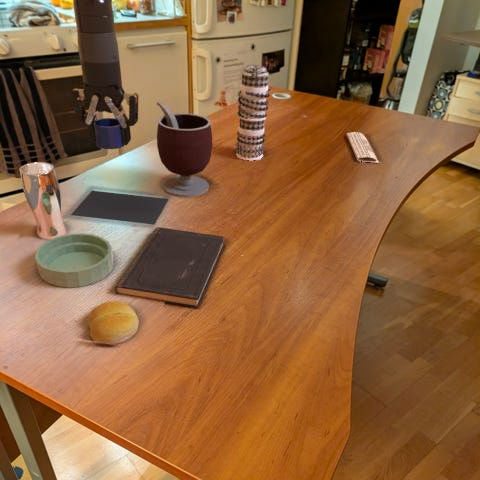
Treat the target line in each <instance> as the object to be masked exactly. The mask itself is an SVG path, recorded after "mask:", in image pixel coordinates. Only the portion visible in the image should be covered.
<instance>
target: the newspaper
mask: <svg viewBox="0 0 480 480" xmlns="http://www.w3.org/2000/svg"><path fill="white" fill-rule="evenodd" d="M346 137H347V140H348V142H349V144H350V147H351V149H352V152H353V154H354V156H355V158H356V161H357V162H360V163H365V162H371V163H378V164H380V161H379V159H378V158H377V155H376V153H375V152H374V150H373V148H372V147H371V144H370V142H369V140H368V139H367V137H365V134H363V133H362V132H357V131H351V132H346ZM361 161H362V162H361ZM371 163H370V164H371Z"/></svg>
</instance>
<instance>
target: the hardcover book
mask: <svg viewBox="0 0 480 480" xmlns="http://www.w3.org/2000/svg"><path fill="white" fill-rule="evenodd" d="M225 239H226V236H222V235H215V234H209V233H202V232H195V231H190V230H189V231H188V230H182V229H175V228H174V229H173V228H168V227H167V228H166V227H161V226H157V227H155V228H154V230H153V231H152V232H151V234H150V236H149V237H148V239H147V240H146V241H145V243H144V244H143V246H142V248H141V249H140V250H139V252H138V253H137V254H136V256H135V257H134V259H133V261H132V262H131V263H130V265H129V266H128V268H127V269H126V271H125V272H124V274H123V275H122V276H121V278H120V280H119V281H118V282H117V284H116V285H115V287H114V291H115V294H116V295H117V294H124V295H129V296H134V297H141V298H147V299H154V300H158V301H159V300H160V301H164V304H168V305H174V306H181V307H186V308H192V309H199V307H200V306H201V304H202V301H203V298H204V296H205V294H206V291H207V289H208V286H209V284H210V282H211V279H212V277H213V275H214V272H215V270H216V267H217V265H218V263H219V262H220V261H219V260H220V258H221V256H222V253H223V251H224V249H225V246H226V244H225V243H224V242H225Z"/></svg>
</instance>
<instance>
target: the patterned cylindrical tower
mask: <svg viewBox="0 0 480 480" xmlns="http://www.w3.org/2000/svg"><path fill="white" fill-rule="evenodd" d="M240 73H241V83H240V86H239V87H240V90H239V91H238V94H237V96H238V98H237V102H238V106H237V117H238V118H239V121H238V123H239V125H238V129H237V130H238V131H237V132H236V135H237V137H236V141H237V142H236V144H235V146H236V148H235V151H236V153H235V156H236V155H237V156H236V158H238V159H240V160H242V159H243V161H247V160H249V161H248V162H254V161H253V160H256V161H260V160H262V159H263V158H262V157H264V151H265V150H264V149H265V145H264V143H265V140H266V139H265V136H266V133H265V130H266V129H265V128H266V127H265V121H266V119H267V116H268V114H267V113H266V111H268V110H269V107H268V106H267V105H269V100H267V99H268V98H269V97H270V96H271V95H270V93H269V92H270V91H271V89H270V88H269V76H270V72H269V71H268V70H267V68H266V67H265V66H264V65H260V64H248V65H246V66H245V67H244V68H243V70H241V71H240ZM261 158H262V159H261Z"/></svg>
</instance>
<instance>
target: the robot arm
mask: <svg viewBox="0 0 480 480" xmlns="http://www.w3.org/2000/svg"><path fill="white" fill-rule="evenodd" d="M72 1H73V3H72V4H73V13H74V14H73V15H74V19H75V20H74V21H75V26H76V27H75V28H76V33H77V34H76V35H77V49H78V51H77V52H78V56H79V62H80V67H81V75H82V79H83V80H82V81H83V84H84V85H83V86H84V87H83V88H79V87H75V88H73V89H72V90H70V92H69V93H70V97H71V101H72V104H73V108H74V112H75V115H76V119H77V120H78V121H79V122H84V123H85V124H86V126H87V131H88V137H89V139H90V140H91V141H92V143H96V140H95V134H94V127H93V122H94V121H95V120H97V116H98V114H99V113H104V112H105V113H108V114H113V116H114V118H115V119H118V121H119V123H120V125H121V126H122V128H121V134H122V143H123V145H125V146H128V144H130V142H131V141H132V135H131V127H134V126H135V125H136V124H137V123H138V122H139V94H138V93H137V92H134V93H128V92H125V90H124V88H123V81H122V70H121V62H120V52H119V51H120V50H119V43H118V38H117V34H116V27H115V17H114V9H113V0H72ZM85 98H86V99H87V101H88V102H89V103H90V104H89V107H88V111H87V110H86V105H85V103H84V99H85ZM124 100H125V101H126V104H127V106H128V115H127V113H126V109H125V107H124V105H123V104H122V103H123V102H124Z"/></svg>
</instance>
